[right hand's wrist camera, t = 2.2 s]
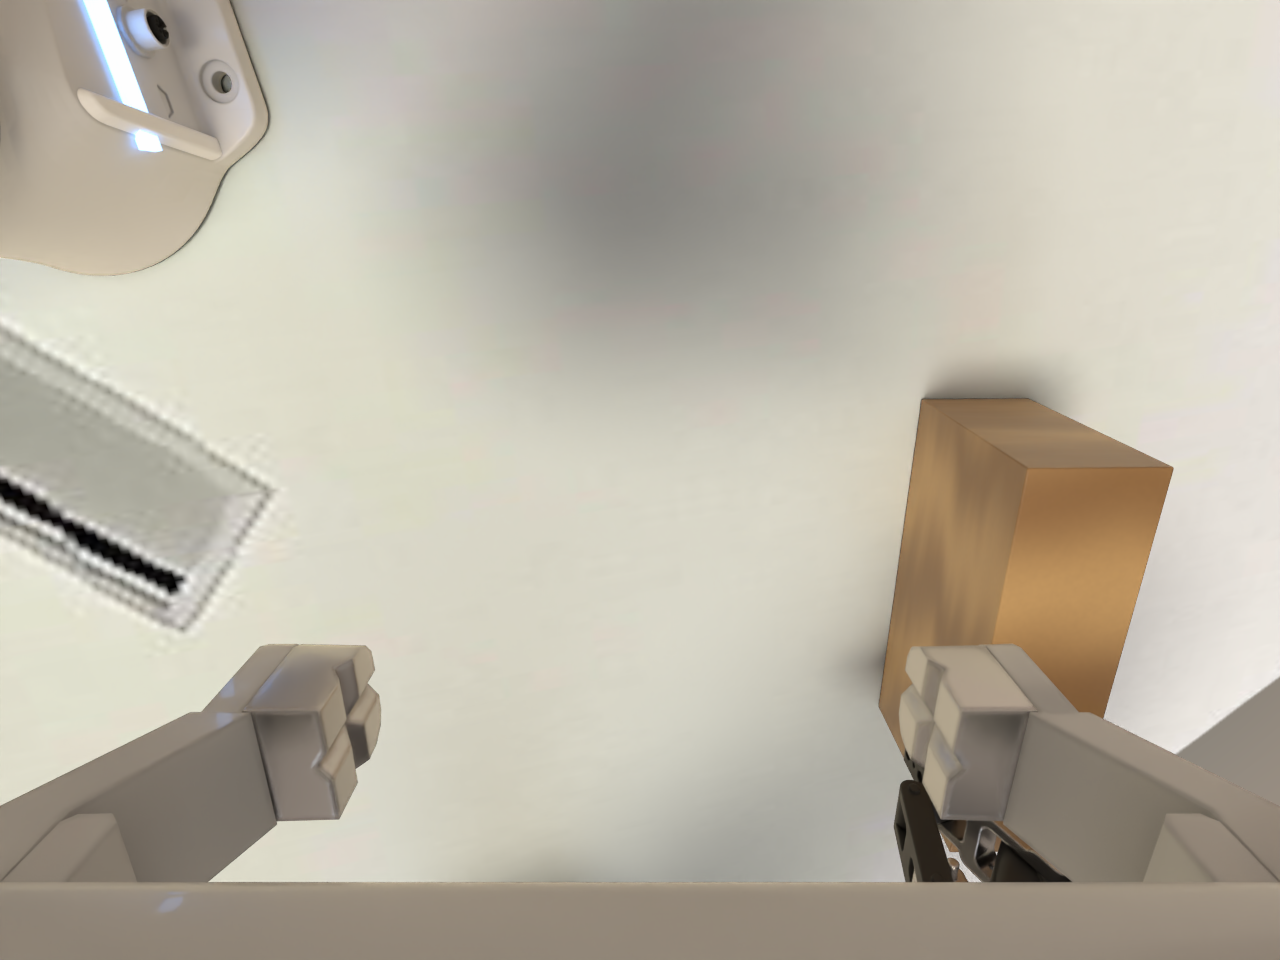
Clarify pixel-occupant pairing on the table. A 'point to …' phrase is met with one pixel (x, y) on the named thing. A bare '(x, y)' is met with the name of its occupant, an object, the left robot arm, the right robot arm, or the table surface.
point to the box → (1022, 544)
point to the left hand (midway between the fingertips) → (978, 734)
